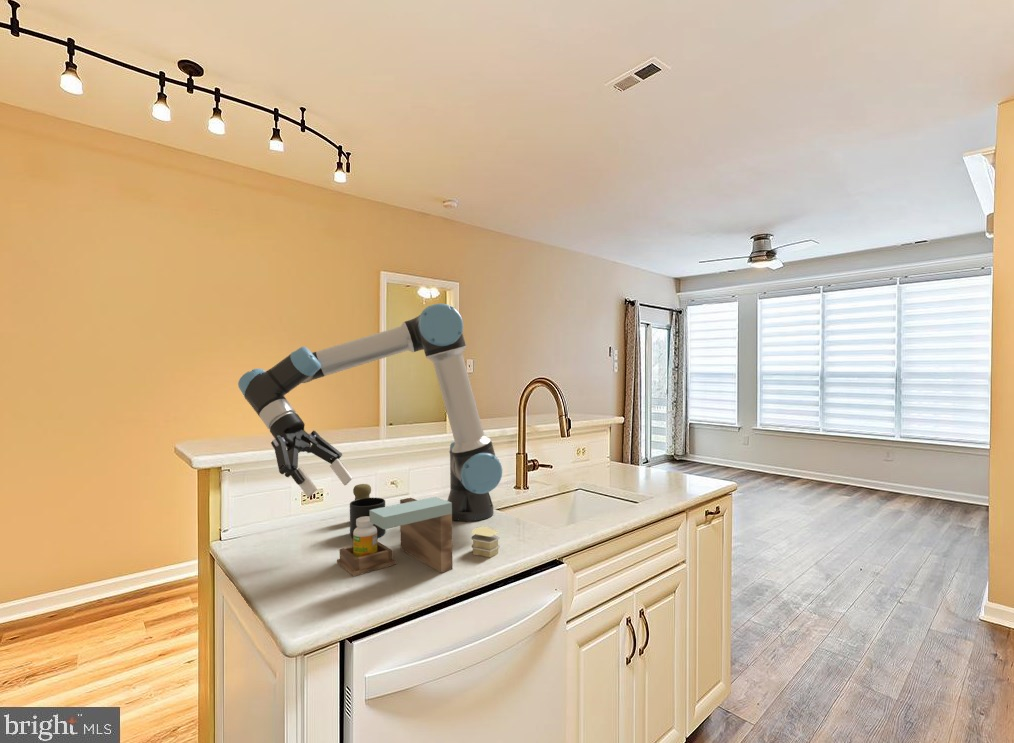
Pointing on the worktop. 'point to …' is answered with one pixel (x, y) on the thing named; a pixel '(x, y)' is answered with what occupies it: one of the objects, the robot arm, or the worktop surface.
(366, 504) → the mug
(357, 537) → the supplement bottle
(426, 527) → the wall
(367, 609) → the worktop surface
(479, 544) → the pale yellow layered block
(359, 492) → the cork
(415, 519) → the plank
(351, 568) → the brown wooden square tray
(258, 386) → the robot arm
